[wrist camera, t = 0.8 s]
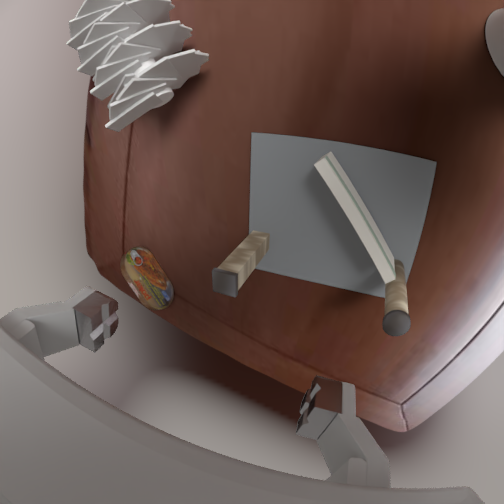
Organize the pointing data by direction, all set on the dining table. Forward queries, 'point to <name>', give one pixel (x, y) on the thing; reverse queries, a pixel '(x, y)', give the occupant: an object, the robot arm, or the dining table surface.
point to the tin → (147, 278)
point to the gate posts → (257, 245)
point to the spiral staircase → (132, 54)
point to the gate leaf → (357, 214)
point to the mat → (334, 209)
